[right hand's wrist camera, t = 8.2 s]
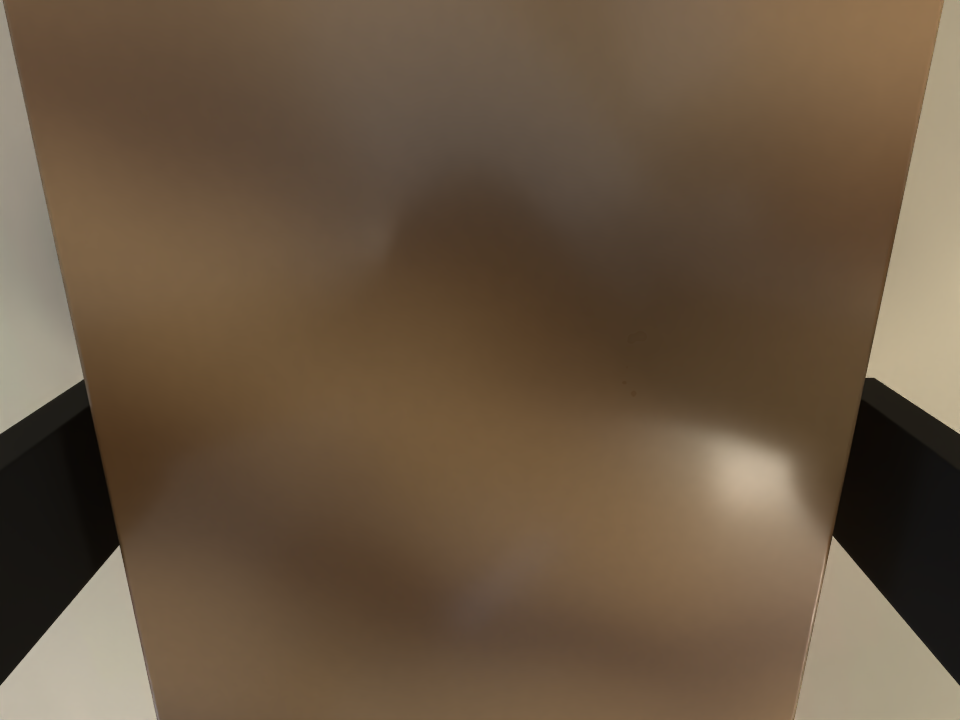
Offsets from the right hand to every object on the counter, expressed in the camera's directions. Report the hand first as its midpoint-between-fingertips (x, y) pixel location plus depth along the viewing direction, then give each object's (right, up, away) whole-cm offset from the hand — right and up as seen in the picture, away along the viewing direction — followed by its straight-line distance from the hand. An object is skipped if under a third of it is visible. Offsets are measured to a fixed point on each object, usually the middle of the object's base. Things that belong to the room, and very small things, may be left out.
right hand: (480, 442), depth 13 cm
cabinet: (0, +7, +4) cm, 8 cm away
